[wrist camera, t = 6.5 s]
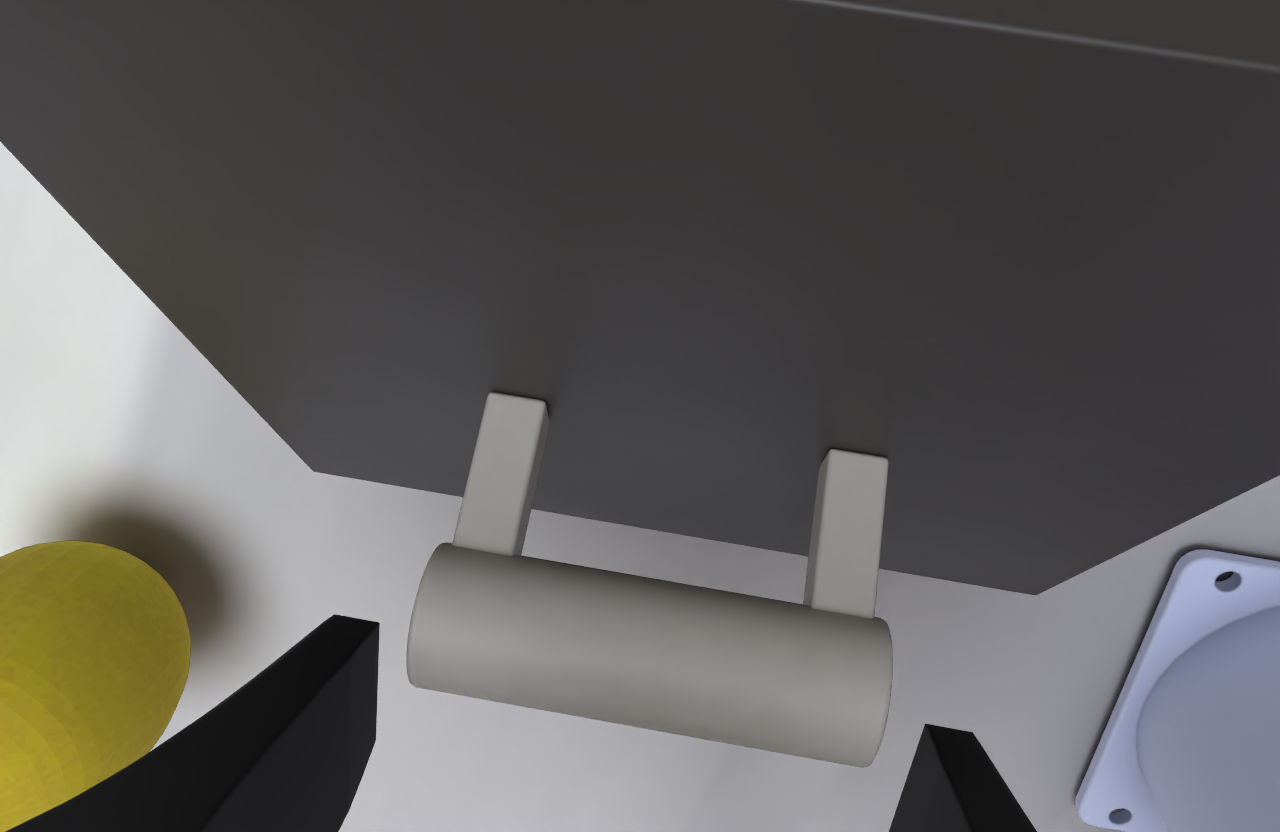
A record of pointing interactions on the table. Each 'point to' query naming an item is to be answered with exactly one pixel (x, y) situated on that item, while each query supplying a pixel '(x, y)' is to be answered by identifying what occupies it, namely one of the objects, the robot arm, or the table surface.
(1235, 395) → the dark grey box lid
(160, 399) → the table surface
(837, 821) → the table surface
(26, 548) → the lemon
